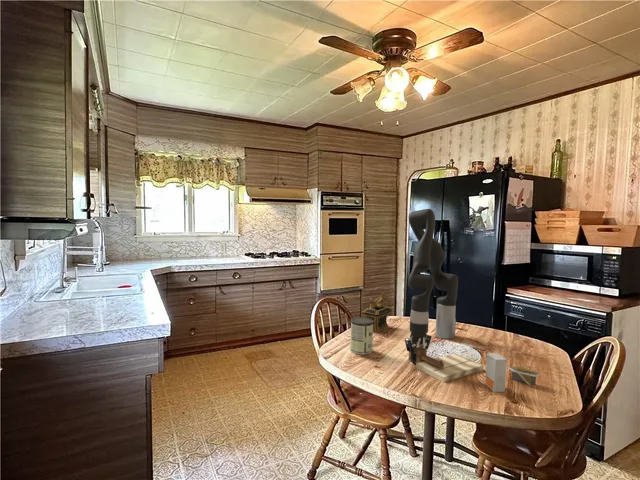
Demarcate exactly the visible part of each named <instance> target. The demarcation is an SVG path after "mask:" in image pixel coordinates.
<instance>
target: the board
mask: <svg viewBox="0 0 640 480" xmlns="http://www.w3.org/2000/svg"><path fill="white" fill-rule="evenodd" d="M434 359H436V360H438V361H440V360H442V361H443V362H442V363H444V367H443V368H440V367H437V366H435V365H433V364H431V363H429V362H427V361H424V362H420V363H415V369H417V370H419V372H420V371H421V372H422V373H424V374H427V375H428V376H431V377H433V378H435V379H436V380H439V381H441V382H442V383H445V382H449V381H453V380H456V379H459V378H462V377H465V376H469V375H471V374H475V373H478V372H481V371H484V367H485V366H484V364H482V363H479V362H477V361H475V360H473V359H470V358H468V357H465V356H463V355H460V354H458V353H451V354H448V355H444V356H440V357H436V358H434Z"/></svg>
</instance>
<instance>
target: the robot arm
mask: <svg viewBox="0 0 640 480" xmlns="http://www.w3.org/2000/svg"><path fill="white" fill-rule="evenodd" d="M408 223H409V226H410V228H411V230H412V232H413V233H414V236H415V238H416V239H417V241H418V243H417V244H416V246H415V248H414V250H413V259H412V269H411V272H410V274H409V276H408V280H407V285H408V287H409V289H410V290H411V291H422V292H423V293H422V294H417V295H413V296H412V297H411V306H410V315H409V331H410V335H409V337H408V338H406V337H405V338H404V344H405V347H406V351H407V352H408V353H409V352H411V362H412V361H413V363H414V362H416V351H417V348H418V347H419V346H421V347H422V348H425V349H427V350H429V347H430V344H431V340H432V336H431V335H430V334H428V333H429V318H430V315H429V309H430V308H429V305H430V297H431V293H432V291H433V289H434V286H435V288H436V289H437V290H439V291H444V292H447V293H446V295H445V296H439V297H437V299H436V312H435V313H436V319H435V334H434V335H435V337H436V338H440V339H443V340H444V339H445V340H452V339H454V338H455V337H456V328H457V327H456V325H457V319H456V303H457V298H458V290H459V277H458V276H457V275H456V274H455V273H454V274H453V273H447V272H443V271H442V268H441V267H442V265H443V264H444V260H445V257H446V256H445V255H446V254H445V252H444V250H443V246H442V244H441V243H440V242H439V241H438V240H437V239H435V238H434V234H435V233H434V232H435V227H436V214H435V213H434V211H433V210H432V209H431V208H424V209H419V210H413V211H410V212H409V214H408ZM428 270H429V271H430V273H431V274H428V273H426V274H425V273H421V272H427V271H428ZM415 345H416V346H415ZM413 348H414V350H413Z"/></svg>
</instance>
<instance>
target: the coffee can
mask: <svg viewBox="0 0 640 480" xmlns="http://www.w3.org/2000/svg"><path fill="white" fill-rule="evenodd" d="M373 323H374V321H373V320H372V319H369V318H367V317H365V316H364V317H361V316H358V317H353V318H351V319H350V343H349V344H350V345H349V346H350V347H349V350H350V352H351V353H353V354H355V355H356V354H357V355H369V354H371V353H373V343H374V342H373V341H374V339H373V338H374V332H373Z"/></svg>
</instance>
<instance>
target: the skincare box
mask: <svg viewBox="0 0 640 480" xmlns="http://www.w3.org/2000/svg"><path fill="white" fill-rule="evenodd" d="M485 364H486V365H485V379H484V384H485V386H487V387H488V388H489V389H490V390H491V391H492V392H493V393H505V392H506V391H505V390H506V379H507V378H506V376H507V374H506V373H507V359H506V358H505V357H503V356H502V355H501V354H499V353H497V352H496V353H491V352H490V353H486V363H485Z"/></svg>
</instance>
